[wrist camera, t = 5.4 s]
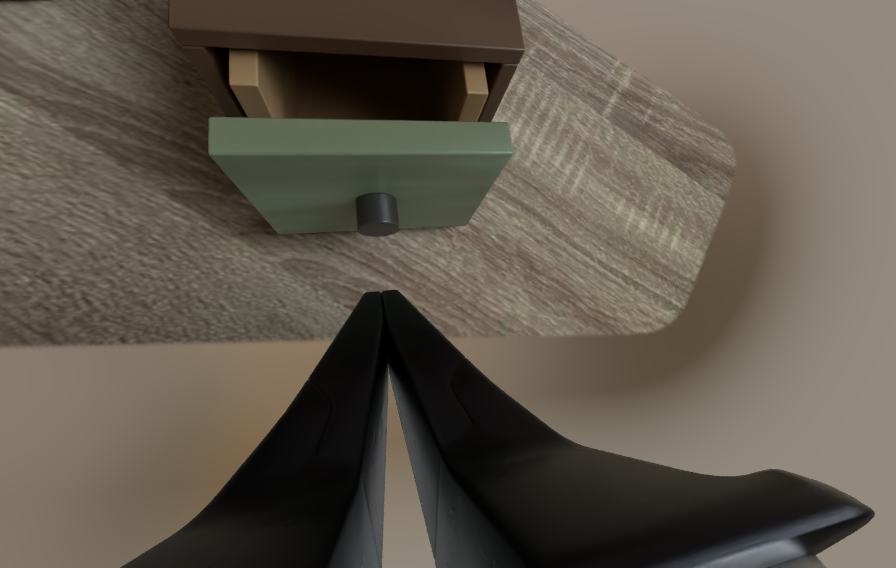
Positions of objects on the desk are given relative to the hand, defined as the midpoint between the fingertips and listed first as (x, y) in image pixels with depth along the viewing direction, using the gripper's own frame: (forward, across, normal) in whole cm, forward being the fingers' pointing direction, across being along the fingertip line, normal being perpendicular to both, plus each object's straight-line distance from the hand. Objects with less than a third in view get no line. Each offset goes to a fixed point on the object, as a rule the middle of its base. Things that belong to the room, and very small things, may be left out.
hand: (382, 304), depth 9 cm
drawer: (+11, 0, -1) cm, 11 cm away
